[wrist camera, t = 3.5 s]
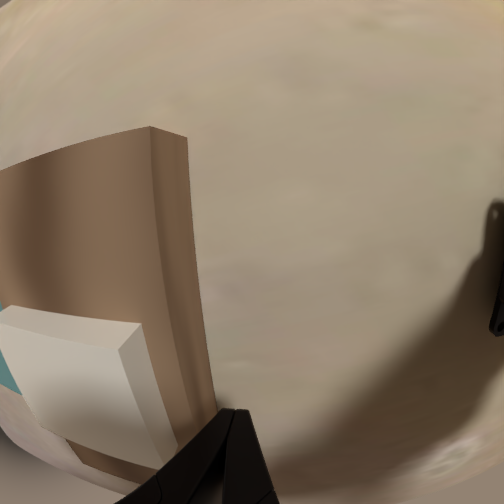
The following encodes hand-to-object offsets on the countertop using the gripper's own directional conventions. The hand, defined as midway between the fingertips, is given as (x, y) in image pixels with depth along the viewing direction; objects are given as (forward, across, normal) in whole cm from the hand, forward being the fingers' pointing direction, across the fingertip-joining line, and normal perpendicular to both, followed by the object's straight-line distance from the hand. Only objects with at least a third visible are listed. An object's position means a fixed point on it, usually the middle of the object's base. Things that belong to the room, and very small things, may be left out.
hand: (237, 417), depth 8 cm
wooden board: (+4, +6, 0) cm, 7 cm away
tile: (0, +6, 0) cm, 6 cm away
